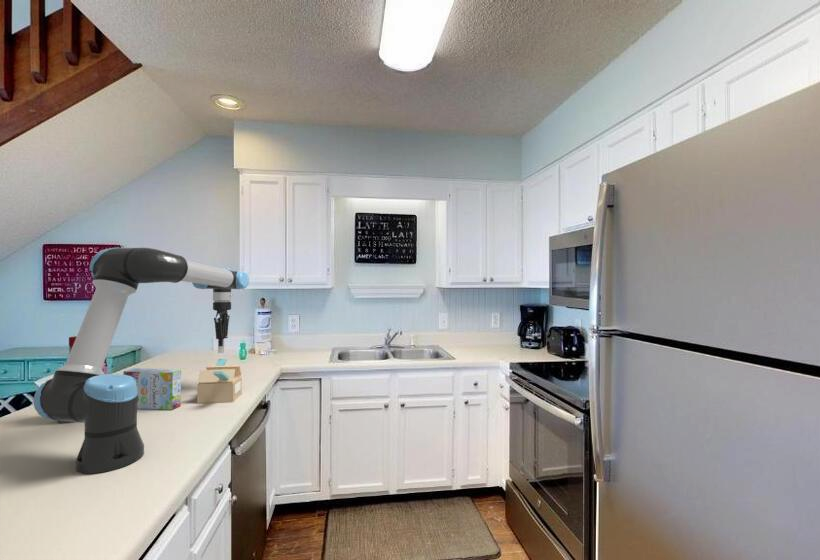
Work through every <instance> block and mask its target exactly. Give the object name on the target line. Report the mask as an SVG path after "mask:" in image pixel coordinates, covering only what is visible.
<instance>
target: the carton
mask: <svg viewBox="0 0 820 560" xmlns="http://www.w3.org/2000/svg"><path fill="white" fill-rule="evenodd" d="M242 376H243V375H241V376H234V381H233V382H213V383H198V382H197V404H218V403H219V404H220V403H222V404H223V403H234V402H235V401H236V400H237V399H238V398H239V397H241V396H242V394H243V393H242V390H243V389H242V388H243V386H242V385H243V384H242V383H243V382H242V380H243V377H242Z"/></svg>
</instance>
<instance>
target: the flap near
mask: <svg viewBox="0 0 820 560" xmlns="http://www.w3.org/2000/svg"><path fill="white" fill-rule="evenodd" d="M234 375H235V369H221V370H207V369H201V370H199V374H198V379H197V384H198V383H213V382H233V381H234Z"/></svg>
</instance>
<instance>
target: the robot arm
mask: <svg viewBox="0 0 820 560" xmlns="http://www.w3.org/2000/svg"><path fill="white" fill-rule="evenodd" d="M89 271H91V272H90V275H91V277H92V278H93V279H92V281H91V282H92V284H93V286H94V287H95V291H94V293H93V295H92V298H91V300H90V303H89V305H88V307H87V310H86V312H85V315H84V318H83V320H82V323H81V325H80V327H79V329H78V333H77V335H76V336H77V337H76V340H75V342H74V345H73V347H72V349H71V352H70V354H69V353H68V357H67V359H66V362H65V364H64V365H63V366H60V367H59V368H56V369H55V372H54V374H53V376H52V378H50V379H46V380H45V382H44V383H42V384H41V385H39V387H38V388H37V390H36V391H35V393H34V396H33V408H34V409H35V411H36V412H37V414H38V415H39V416H41V417H42V418H44V419H46V420H52V421H54V422H57V421H70V422H72V423H84V438H83V442H82V444H81V446H80V449H79V452H78V454H77V457H76V459H75V460H76V461H75V470H76V471H77V472H79V473H82V474H99V473H105V472H111V471H113V470H114V471H115V470H118V469H120V468H123V467H126V466H129V465H131V464H132V463H135V462H137V461H139V460H140V459H141V458H142V457H143V456H144V455H145V443H144V442H143V439H142V437H141V434H140V432H139V430H138V417H137V416H138V409H137V392H138V390H137V385H136V380H135V379H134V378H133V377H131V376H128V375H124V373H123V374H122V373H114V374H111V373H108V374H104V372H103V371H102V366H103V364H104V361H105V358H106V359H107V355H108V353H109V350H110V347H111V344H112V342H113V340H114V339H113V338H114V335H115V333H116V331H117V328H118V325H119V323H120V320H121V317H122V315H123V312H124V309H125V306H126V303H127V301H128V299H129V296H131V295H133V294H135V293H136V292H137V290H138V287H139V285H140V284H150V283H151V284H153V283H174V284H175V283H176V284H177V283H179V282H187V283H191V284H192V285H193V287H195V288H196V289H199V290H208V289H210V290H212V301H213V303H212V310H213V311H216V314H215V317H214V318H213V322H214V328H215V340H217V354H226V346H227V345H226V339H228V338H229V336H228V334H229V322H230V315H229V314H228V311H230V310H232V296H233V294H232V290H243V289H246V288H247V287H248V286H249V283H250V277H249V274H248V273H247V272H246V271H240V270H238V271H237V270H236V271H235V270H231V268H229V267H217V266H213V265H209V264H204V263H200V262H196V261H192V260H188V259H186V258H185V257H184V256H182V255H178V254H175V253H171V252H168V251H165V250H164V251H163V250H160V249H156V248H151V247H112V248H105V249H102V250H100V251H98V252H97V253H96V254H94V256H93V257H92V259H91V260H90V264H89Z"/></svg>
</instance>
